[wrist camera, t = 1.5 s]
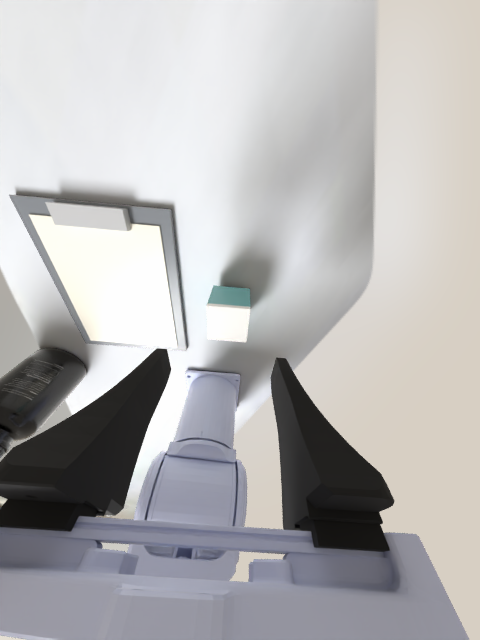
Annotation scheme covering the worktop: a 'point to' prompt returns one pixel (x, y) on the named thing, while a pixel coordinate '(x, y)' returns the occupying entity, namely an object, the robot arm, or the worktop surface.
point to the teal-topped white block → (228, 314)
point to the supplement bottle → (35, 392)
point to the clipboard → (111, 268)
